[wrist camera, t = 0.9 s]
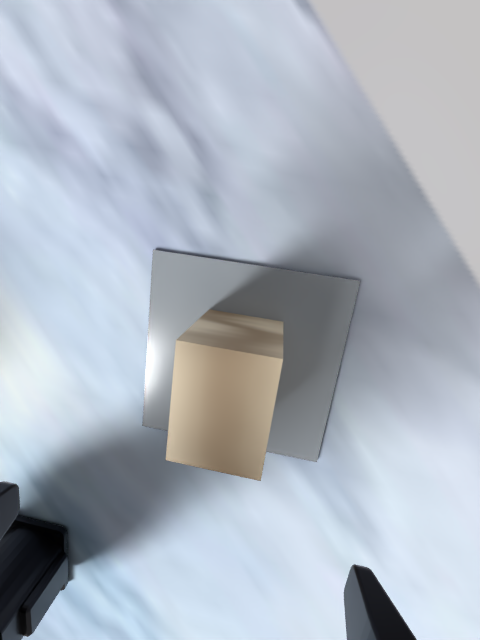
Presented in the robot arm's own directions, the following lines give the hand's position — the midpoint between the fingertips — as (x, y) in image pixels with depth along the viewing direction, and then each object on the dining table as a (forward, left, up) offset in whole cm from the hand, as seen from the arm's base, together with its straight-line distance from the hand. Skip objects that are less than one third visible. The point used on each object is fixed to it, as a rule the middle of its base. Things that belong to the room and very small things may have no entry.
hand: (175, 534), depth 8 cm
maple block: (0, 0, -12) cm, 12 cm away
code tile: (0, 0, -12) cm, 12 cm away
